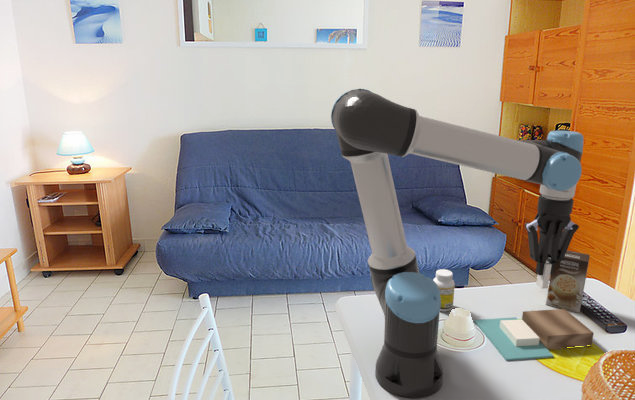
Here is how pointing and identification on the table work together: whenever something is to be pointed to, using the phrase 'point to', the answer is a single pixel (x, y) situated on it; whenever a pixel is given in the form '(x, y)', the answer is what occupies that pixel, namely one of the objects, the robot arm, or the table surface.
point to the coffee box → (568, 282)
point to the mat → (510, 342)
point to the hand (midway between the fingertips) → (541, 285)
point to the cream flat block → (519, 332)
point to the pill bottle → (445, 288)
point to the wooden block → (558, 328)
